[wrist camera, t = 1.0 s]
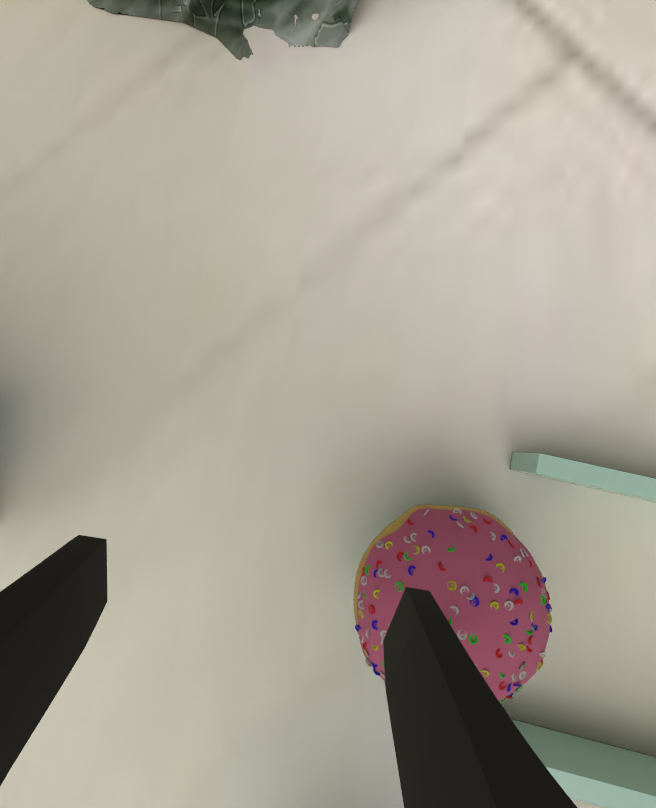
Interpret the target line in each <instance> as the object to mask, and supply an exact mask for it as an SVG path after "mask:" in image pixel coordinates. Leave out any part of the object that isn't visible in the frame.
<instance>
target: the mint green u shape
mask: <svg viewBox="0 0 656 808" xmlns="http://www.w3.org/2000/svg"><path fill="white" fill-rule="evenodd" d="M510 470H515V471H519V472H523V473H528V474H532V475H537V476H541V477H546V478H550V479H555V480H559V481H563V482H568V483H572V484H577V485H581V486H586V487H590V488H595V489H599V490H603V491H608V492H612V493H617V494H621V495H626V496H630V497H635V498H639V499H643V500H648V501H652V502H656V479H654V478H650V477H645V476H640V475H636V474H631V473H627V472H622V471H618V470H613V469H609V468H604V467H600V466H595V465H591V464H586V463H582V462H577V461H573V460H568V459H564V458H559V457H555V456H550V455H546V454H541V453H520V452H513V455H512V461H511V466H510ZM511 720H512V721H513V723H514V724H515V725H516V727H517V728H518V730H519V731H520V732H521V734H522V735H523V737H524V738H525V740H526V741H527V742H528V744H529V745H530V747H531V748H532V749H533V751H534V752H535V753H536V755H537V756H538V758H539V759H540V760H541V762H542V763H543V764H544V766H545V767H546V768H547V770H548V771H549V772H550V773H551V775H552V776H553V777H554V779H555V780H556V781H557V782H558V784H559V785H560V786H561V788H562V789H563V790H564V791H565V793H566V794H567V795H568V796H569V798H573V799H576V800H580V801H584V802H587V803H591V804H594V805H598V806H602V807H605V808H656V757H652V756H649V755H645V754H641V753H637V752H633V751H630V750H626V749H622V748H618V747H615V746H611V745H607V744H603V743H599V742H596V741H592V740H588V739H584V738H581V737H577V736H573V735H569V734H565V733H562V732H558V731H554V730H550V729H547V728H543V727H539V726H535V725H531V724H528V723H524V722H520V721H516V720H513V719H511Z"/></svg>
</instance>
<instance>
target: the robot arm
mask: <svg viewBox="0 0 656 808" xmlns="http://www.w3.org/2000/svg"><path fill="white" fill-rule="evenodd" d="M106 603H107V544H106V539H101V538H95V537H88V536H82V535H78V536H77V537H75V538H74V539H72V540H71V541H69V542H68V543H67V544H65V545H64V546H63V547H61V548H60V549H58V550H57V551H56V552H54V553H53V554H52V555H50V556H49V557H48V558H46V559H45V560H44V561H42V562H41V563H40V564H38V565H37V566H35V567H34V568H33V569H31V570H30V571H29V572H27V573H26V574H24V575H23V576H22V577H20V578H19V579H18V580H16V581H15V582H13V583H12V584H11V585H9V586H8V587H6V588H5V589H4V590H2V591H1V592H0V786H1V784H2V782H3V781H4V779H5V777H6V775H7V774H8V772H9V770H10V769H11V767H12V765H13V764H14V762H15V760H16V759H17V757H18V756H19V754H20V752H21V751H22V749H23V748H24V746H25V744H26V743H27V741H28V739H29V738H30V736H31V735H32V733H33V731H34V730H35V728H36V726H37V725H38V723H39V722H40V720H41V718H42V717H43V715H44V714H45V712H46V710H47V709H48V707H49V705H50V704H51V702H52V701H53V699H54V697H55V696H56V694H57V692H58V691H59V689H60V688H61V686H62V684H63V683H64V681H65V679H66V678H67V676H68V675H69V673H70V671H71V670H72V668H73V666H74V665H75V663H76V661H77V660H78V658H79V656H80V655H81V653H82V651H83V650H84V648H85V646H86V644H87V642H88V640H89V638H90V636H91V634H92V632H93V630H94V628H95V626H96V624H97V622H98V620H99V617H100V615H101V613H102V611H103V609H104V607H105V605H106ZM383 649H384V670H385V685H386V694H387V701H388V707H389V714H390V720H391V727H392V733H393V739H394V746H395V752H396V758H397V764H398V771H399V777H400V783H401V790H402V796H403V802H404V808H577V807H576V805H575V804H574V803H573V802H572V800H571V799H570V798H569V796H568V795H567V794H566V793H565V791H564V790H563V789H562V788H561V786H560V785H559V784H558V782H557V781H556V780H555V779H554V777H553V776H552V775H551V773H550V772H549V771H548V770H547V768H546V767H545V766H544V764H543V763H542V762H541V760H540V759H539V758H538V756H537V755H536V753H535V752H534V751H533V749H532V748H531V747H530V745H529V744H528V742H527V741H526V740H525V738H524V737H523V735H522V734H521V732H520V731H519V730H518V728H517V727H516V725H515V724H514V723H513V721H512V720H511V718H510V717H509V715H508V714H507V712H506V711H505V710H504V708H503V707H502V705H501V704H500V702H499V701H498V699H497V698H496V696H495V695H494V693H493V692H492V690H491V689H490V687H489V685H488V684H487V682H486V681H485V679H484V678H483V676H482V675H481V673H480V672H479V670H478V669H477V667H476V665H475V664H474V662H473V661H472V659H471V658H470V656H469V654H468V653H467V651H466V650H465V648H464V646H463V645H462V643H461V641H460V640H459V638H458V637H457V635H456V633H455V632H454V630H453V628H452V627H451V625H450V623H449V622H448V620H447V618H446V617H445V615H444V614H443V612H442V610H441V609H440V607H439V605H438V604H437V602H436V600H435V599H434V597H433V596H432V594H431V592H430V591H429V590H422V589H416V588H410V587H406V588H405V590H404V593H403V595H402V597H401V600H400V602H399V604H398V607H397V609H396V612H395V614H394V616H393V619H392V621H391V623H390V626H389V628H388V630H387V633H386V635H385V638H384V640H383Z"/></svg>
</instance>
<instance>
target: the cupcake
mask: <svg viewBox="0 0 656 808" xmlns="http://www.w3.org/2000/svg"><path fill="white" fill-rule="evenodd" d="M545 581H546V578H545V577H544V578H543V576H542V574H541V572H540V570H539V568H538V566H537V565H536V563H535V561H534V559H533V557H532V556H531V554H530V552H529V551H528V550H527V549H526V547H525V546H524V545H523V544H522V543H521V542H520V541H519V540H518V539H517V538H516V536H515V535H514V534H513V533H512V532H511V530H510V529H509V528H508V527H507V526H506V525H505V524H504V523H502V522H501V521H500V520H499V519H497V518H496V517H495V516H493V515H491V514H489V513H487V512H485V511H482V510H478V509H474V508H466V507H456V506H444V505H418V506H415V507H413V508H411V509H410V510H408V511H407V512H406V513H404V514H403V515H402V516H400V517H399V518H397V519H396V520H395V521H393V522H392V523H391V524H390V525H388V526H387V527H386V528H385V529H384V530H383V531H382V532H381V533H380V534H379V535H378V536H377V537H376V538H375V539H374V540H373V542H372V543H371V544H370V546H369V547H368V549H367V550H366V552H365V554H364V555H363V557H362V560H361V562H360V564H359V567H358V570H357V574H356V580H355V588H354V612H355V620H356V626H355V628H356V630H357V631H358V634H359V638H360V642H361V646H362V650H363V652H364V655H365V657H366V664H367V666H368V667H371V666H372V667H373V668H374V669H373V670H374V673H375V674H376V675H379V676H380V677H381V678H382V679H383V680H384V681H385V670H384V649H383V640H384V638H385V635H386V633H387V630H388V628H389V626H390V623H391V621H392V619H393V616H394V614H395V612H396V609H397V607H398V604H399V602H400V600H401V597H402V595H403V593H404V590H405V588H406V587H410V588H416V589H422V590H429V591H430V592H431V594H432V596H433V597H434V599H435V600H436V602H437V604H438V605H439V607H440V609H441V610H442V612H443V614H444V615H445V617H446V618H447V620H448V622H449V623H450V625H451V627H452V628H453V630H454V632H455V633H456V635H457V637H458V638H459V640H460V641H461V643H462V645H463V646H464V648H465V650H466V651H467V653H468V654H469V656H470V658H471V659H472V661H473V662H474V664H475V665H476V667H477V669H478V670H479V672H480V673H481V675H482V676H483V678H484V679H485V681H486V682H487V684H488V685H489V687H490V689H491V690H492V692H493V693H494V695H495V696H496V698H497V699H498V701H499V702H502V701H504V700H505V698H513V697H512V695H513V692H514V691H517V692H518V691H519V690H520V689H521V688H522V685H523V684H525V683H526V682H527V681H528V680H529V679H530V678H531V677H532V676H533V675H534V674H535V673H536V671H537V670H539V669H540V668H541V666H542V664H543V657H545V655H546V654H545V652H544V651H545V648H546V644H547V641H548V637H549V631H550V632H552V628H551V625H550V623H551V621H552V619H551V615H550V611H552V608H551V605H550V604H549V600H550V597H549V594H548V592H547V590H546V585H545ZM550 629H551V630H550ZM367 660H368V661H367ZM518 688H519V689H518ZM508 695H509V696H508Z"/></svg>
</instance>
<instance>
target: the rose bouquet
mask: <svg viewBox="0 0 656 808" xmlns="http://www.w3.org/2000/svg"><path fill="white" fill-rule="evenodd" d="M87 1H88V2H89V3H90V4H91V5H92V6H94V7H97V8H101V9H104V10H106V11H108V12H111V13H115V14H126V15H133V16H141V17H148V18H156V19H163V20H170V21H178V22H184V23H186V24H188V25H190V26H192V27H194V28H197V29H199V30H201V31H203V32H205V33H207V34H210V35H212V36H214V37H216V38H218V39H219V40H220V41H221V42H222V43H223V45H224V46H225V47H226V48H227V49H228V50H229V51H230V52H231V53H232V54H233V55H234V56H235V57H236V58H237V59H239V60H241V59H242V57H243V56H245V57H246V58H249V57H250V55H251V54H252V55H253V53H252V51H251V49H250V47H249V44H248V40H247V39H246V38H245V37H244V35H243V31H244V29H246V28H250V27H252V26H253V25H254V26H258V27H260V28H267V29H272V30H274V32H275V35H276V36H278V37H280V38H281V39H283V40H285V41H286V42H288V44H289V47H290V46H291V45H294V47H295V46H296V45H297V46H298V47H300V45H301V46H303V47H304V45H306V46H308V45H311V46H313V47H319V46H328V47H329V46H331V47H339V45H340V44H341V41H342V40H343V39H344V38H345V37H346V36H347V35H348V33H349V28H350V27H349V23H351V19H352V13H353V9H355V6H356V5H357V2H358V0H87ZM315 13H318V14H320V15H319V17H318V19H317V20H315V21H314V20H313V19H312V18H311V17H312V14H315ZM294 15H297V17H298V19H296V27H295V23H294V20H295V18H294Z"/></svg>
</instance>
